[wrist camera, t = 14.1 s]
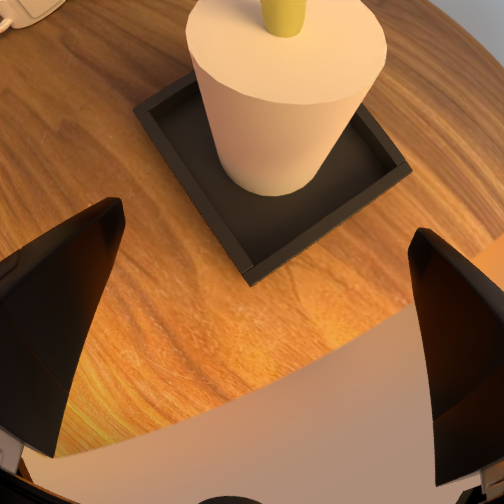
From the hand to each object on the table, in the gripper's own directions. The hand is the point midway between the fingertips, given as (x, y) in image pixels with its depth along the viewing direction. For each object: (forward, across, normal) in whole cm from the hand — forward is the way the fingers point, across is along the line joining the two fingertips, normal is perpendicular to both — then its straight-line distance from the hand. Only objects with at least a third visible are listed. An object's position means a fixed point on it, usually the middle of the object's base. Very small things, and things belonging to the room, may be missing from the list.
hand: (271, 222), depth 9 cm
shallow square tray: (+12, 0, +2) cm, 12 cm away
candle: (+11, 0, +2) cm, 11 cm away
